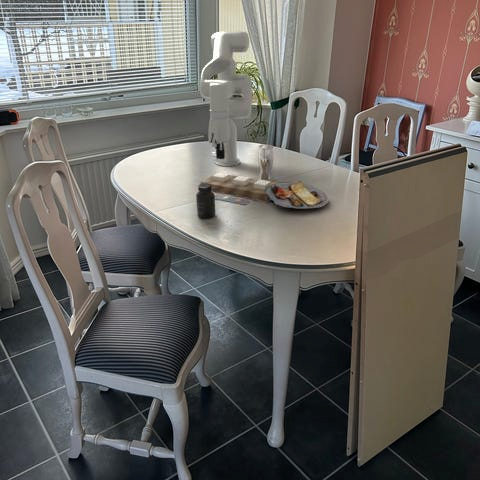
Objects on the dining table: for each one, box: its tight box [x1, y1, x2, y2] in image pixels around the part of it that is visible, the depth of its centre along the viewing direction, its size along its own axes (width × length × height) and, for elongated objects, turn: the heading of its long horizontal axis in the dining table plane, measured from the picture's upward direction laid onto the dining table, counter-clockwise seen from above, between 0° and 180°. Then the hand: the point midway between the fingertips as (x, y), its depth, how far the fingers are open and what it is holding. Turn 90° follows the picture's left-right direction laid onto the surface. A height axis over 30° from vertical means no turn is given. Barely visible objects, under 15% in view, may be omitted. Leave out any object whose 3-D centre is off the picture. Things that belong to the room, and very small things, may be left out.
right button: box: [254, 179, 272, 190], centre depth 193 cm, size 5×5×3 cm
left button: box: [212, 172, 230, 183], centre depth 202 cm, size 5×5×3 cm
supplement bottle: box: [195, 183, 216, 220], centre depth 172 cm, size 7×7×12 cm
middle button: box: [233, 175, 251, 186], centre depth 198 cm, size 5×5×3 cm
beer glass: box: [257, 144, 275, 182], centre depth 208 cm, size 7×7×15 cm
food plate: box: [265, 180, 329, 210], centre depth 186 cm, size 25×23×4 cm
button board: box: [200, 174, 277, 203], centre depth 198 cm, size 32×14×3 cm, turn 60°
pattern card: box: [214, 192, 252, 206], centre depth 190 cm, size 20×5×1 cm, turn 60°
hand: (220, 158), depth 198 cm, fingers closed
